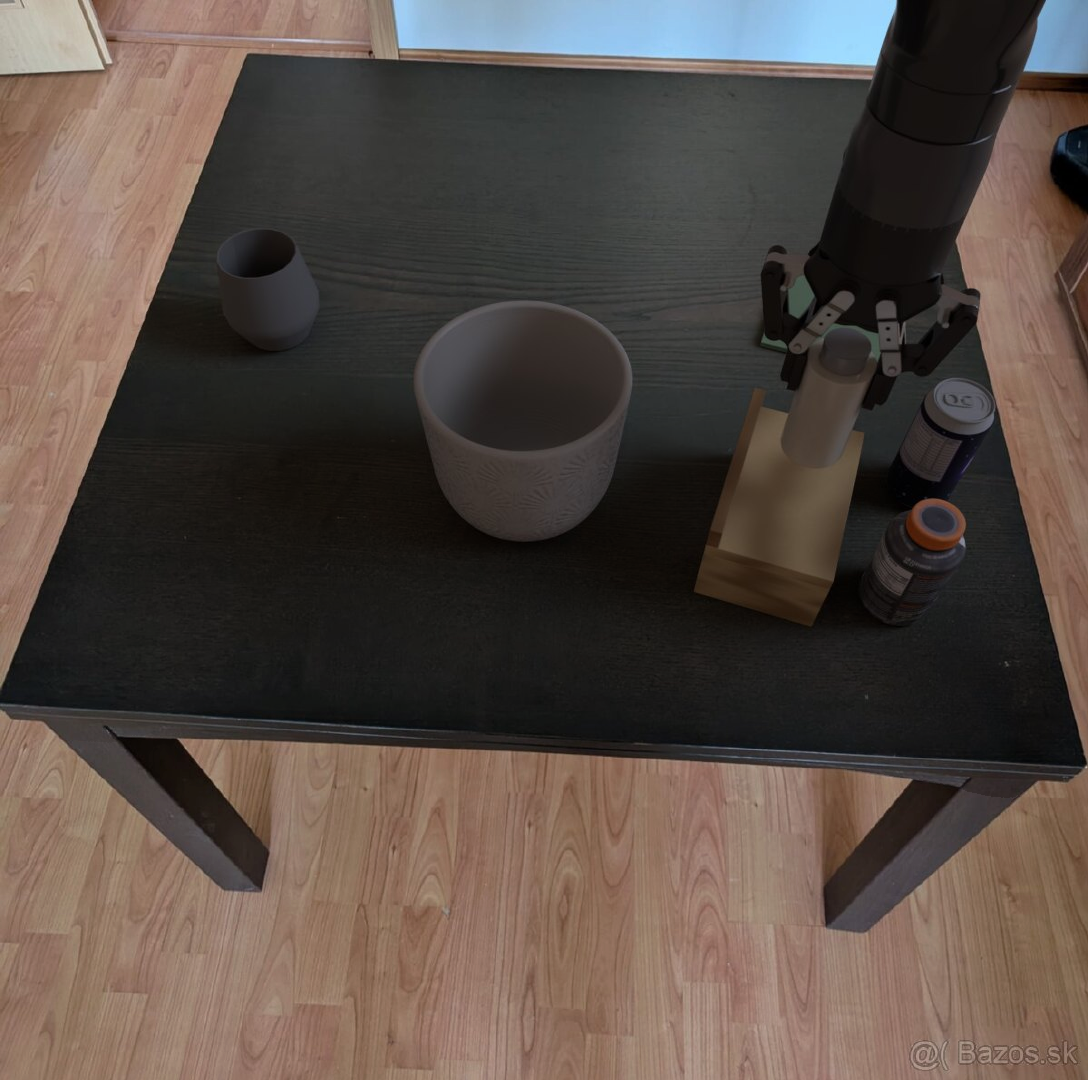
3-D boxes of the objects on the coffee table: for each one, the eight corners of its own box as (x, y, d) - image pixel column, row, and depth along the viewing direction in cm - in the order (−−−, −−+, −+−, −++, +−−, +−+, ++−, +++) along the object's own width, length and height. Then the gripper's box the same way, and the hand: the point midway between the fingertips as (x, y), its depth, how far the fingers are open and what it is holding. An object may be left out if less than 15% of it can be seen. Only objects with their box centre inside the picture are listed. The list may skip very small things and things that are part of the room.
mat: (893, 299, 100) (895, 295, 100) (877, 375, 94) (879, 371, 93) (782, 274, 102) (784, 269, 102) (759, 346, 96) (760, 342, 95)
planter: (639, 554, 81) (658, 438, 69) (445, 586, 79) (428, 473, 67) (594, 411, 91) (603, 286, 78) (420, 437, 88) (401, 313, 76)
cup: (345, 328, 97) (327, 248, 89) (276, 378, 93) (251, 299, 84) (283, 289, 100) (261, 209, 92) (214, 336, 96) (184, 256, 88)
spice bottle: (847, 430, 73) (888, 328, 64) (837, 476, 70) (878, 376, 62) (786, 415, 74) (818, 312, 65) (774, 459, 71) (806, 358, 63)
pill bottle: (930, 576, 80) (982, 496, 71) (927, 635, 77) (981, 559, 67) (859, 561, 81) (901, 479, 72) (853, 618, 78) (896, 540, 68)
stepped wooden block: (843, 483, 86) (872, 416, 78) (811, 627, 77) (840, 567, 70) (736, 454, 88) (754, 387, 80) (693, 592, 79) (709, 530, 72)
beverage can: (949, 519, 83) (1004, 429, 74) (884, 511, 84) (930, 421, 74) (944, 470, 87) (996, 378, 77) (881, 463, 87) (925, 370, 77)
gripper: (768, 194, 53) (721, 403, 67) (1033, 250, 50) (926, 456, 64) (794, 123, 57) (744, 334, 71) (1040, 171, 54) (938, 381, 68)
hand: (831, 391), depth 67 cm, fingers closed on spice bottle, 4 cm apart
